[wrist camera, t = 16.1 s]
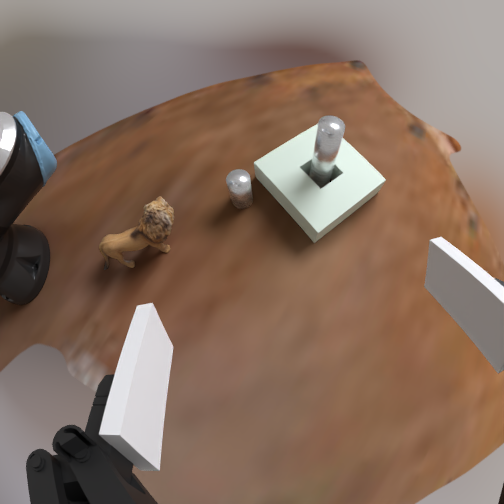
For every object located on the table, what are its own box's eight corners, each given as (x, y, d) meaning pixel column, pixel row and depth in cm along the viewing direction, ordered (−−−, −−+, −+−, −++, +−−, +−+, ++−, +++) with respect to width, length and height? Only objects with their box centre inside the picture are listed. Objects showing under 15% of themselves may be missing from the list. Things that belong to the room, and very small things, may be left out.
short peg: (227, 198, 46) (221, 177, 40) (244, 186, 46) (240, 165, 40) (239, 212, 45) (235, 193, 39) (257, 201, 45) (254, 180, 40)
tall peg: (303, 182, 46) (312, 122, 32) (318, 172, 46) (331, 112, 33) (317, 196, 45) (332, 139, 32) (332, 185, 45) (350, 128, 32)
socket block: (255, 176, 47) (253, 162, 43) (320, 135, 48) (322, 120, 45) (314, 243, 43) (318, 232, 39) (378, 192, 44) (385, 179, 41)
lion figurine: (178, 213, 46) (159, 184, 37) (192, 241, 44) (174, 216, 36) (101, 257, 44) (70, 238, 36) (111, 286, 43) (79, 271, 34)
